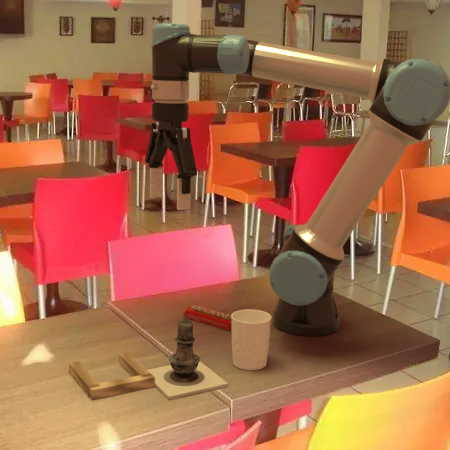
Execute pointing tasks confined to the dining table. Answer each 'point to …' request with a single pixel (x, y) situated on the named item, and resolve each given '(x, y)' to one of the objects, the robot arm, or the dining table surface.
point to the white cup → (250, 338)
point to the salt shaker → (184, 354)
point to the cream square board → (180, 389)
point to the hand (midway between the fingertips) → (169, 203)
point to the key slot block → (96, 390)
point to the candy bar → (209, 316)
